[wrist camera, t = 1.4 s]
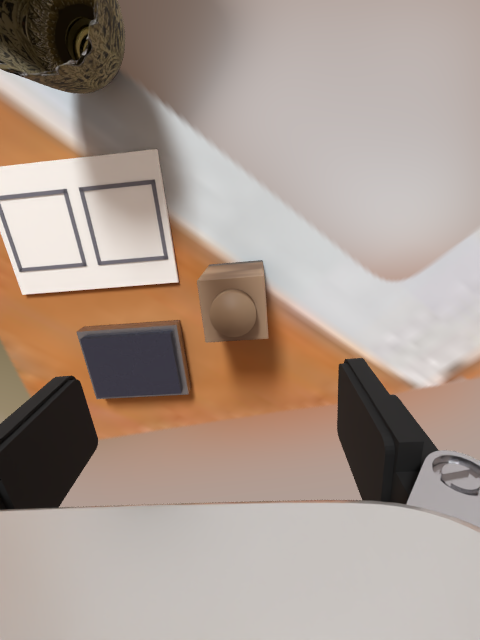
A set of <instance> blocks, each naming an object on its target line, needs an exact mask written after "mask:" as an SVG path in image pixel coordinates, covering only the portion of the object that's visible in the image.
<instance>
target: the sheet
mask: <svg viewBox="0 0 480 640" xmlns="http://www.w3.org/2000/svg"><path fill="white" fill-rule="evenodd" d="M0 232H1V235H2V238H3V241H4V243H5V246H6V249H7V252H8V255H9V258H10V261H11V263H12V266H13V269H14V272H15V275H16V278H17V281H18V284H19V286H20V289H21V292H22V295H25V294H37V293H50V292H63V291H75V290H88V289H100V288H113V287H125V286H138V285H150V284H163V283H176V282H179V278H178V272H177V266H176V260H175V253H174V247H173V241H172V235H171V229H170V223H169V217H168V210H167V204H166V198H165V192H164V186H163V180H162V174H161V168H160V161H159V155H158V150H157V149H152V150H143V151H134V152H125V153H116V154H108V155H99V156H90V157H81V158H72V159H63V160H55V161H46V162H37V163H28V164H19V165H11V166H2V167H0Z"/></svg>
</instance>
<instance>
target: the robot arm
mask: <svg viewBox="0 0 480 640" xmlns="http://www.w3.org/2000/svg"><path fill="white" fill-rule="evenodd" d="M337 429H338V436H339V439H340V442H341V444H342V447H343V450H344V452H345V455H346V458H347V460H348V463H349V466H350V468H351V471H352V474H353V476H354V479H355V482H356V484H357V487H358V490H359V492H360V495H361V497H362V501H361V500H359V501H358V500H302V501H262V502H261V501H259V502H218V503H181V504H150V505H149V504H148V505H118V506H88V507H87V506H86V507H62V508H61V507H60V508H58V507H59V506H60V504H61V503H62V501H63V500H64V498H65V496H66V495H67V493H68V492H69V490H70V489H71V487H72V486H73V484H74V483H75V481H76V479H77V478H78V476H79V475H80V473H81V472H82V470H83V469H84V467H85V466H86V464H87V462H88V461H89V459H90V458H91V456H92V455H93V453H94V452H95V450H96V448H97V445H98V437H97V434H96V431H95V428H94V425H93V421H92V418H91V415H90V412H89V408H88V405H87V402H86V399H85V395H84V392H83V389H82V386H81V383H80V381H79V380H76V378H75V377H73V376H63V377H55V378H53V379H52V380H51V381H50V382H49V383H47V384H46V385H45V386H44V387H43V388H42V389H40V390H39V391H38V392H37V393H36V394H35V395H33V396H32V397H31V398H30V399H29V400H28V401H26V402H25V403H24V404H23V405H22V406H21V407H19V408H18V409H17V410H16V411H15V412H14V413H13V414H11V415H10V416H9V417H8V418H7V419H5V420H4V421H3V422H2V423H1V424H0V640H480V461H479V460H477V459H475V458H473V457H471V456H469V455H466V454H463V453H459V452H456V451H447V450H442V451H439V450H438V449H437V448H436V446H435V445H434V444H433V442H432V441H431V440H430V438H429V437H428V436H427V435H426V433H425V432H424V431H423V429H422V428H421V427H420V425H419V424H418V423H417V422H416V420H415V419H414V418H413V416H412V415H411V414H410V412H409V411H408V410H407V409H406V407H405V406H404V405H403V404H402V402H401V401H400V399H399V398H398V397H397V396H396V395H390V394H389V393H388V392H387V390H386V389H385V388H384V386H383V385H382V384H381V382H380V381H379V379H378V378H377V377H376V375H375V374H374V373H373V371H372V370H371V369H370V367H369V366H368V364H367V363H366V362H365V360H364V359H363V358H357V359H345V361H344V363H343V364H339V379H338V421H337Z"/></svg>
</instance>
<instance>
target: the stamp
mask: <svg viewBox="0 0 480 640" xmlns="http://www.w3.org/2000/svg"><path fill="white" fill-rule="evenodd" d="M197 285H198V292H199V299H200V306H201V313H202V320H203V327H204V334H205V341H206V342H221V341H237V340H252V339H268V324H267V308H266V292H265V277H264V269H263V261H262V260H260V261H248V262H236V263H224V264H212V265H209V266H208V268H207V269H206V270H205V271H204V273H203V274H202V275H201V277H200V278H199V279H198V281H197Z"/></svg>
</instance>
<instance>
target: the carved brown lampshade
mask: <svg viewBox="0 0 480 640" xmlns="http://www.w3.org/2000/svg"><path fill="white" fill-rule="evenodd" d="M87 46H88V47H87ZM124 47H125V31H124V24H123V19H122V14H121V10H120V7H119V4H118V1H117V0H0V69H2V70H4V71H6V72H10V73H13V74H16V75H19V76H22V77H24V78H27V79H30V80H32V81H35V82H38V83H40V84H43V85H46V86H49V87H51V88H55V89H58V90H61V91H65V92H70V93H83V94H84V93H91V92H94V91H97V90H99V89H101V88H103V87H105V86H106V85H107V84H108V83H110V82H111V80H112V79H113V78H114V77H115V75H116V74H117V72H118V70H119V68H120V66H121V63H122V60H123V55H124Z"/></svg>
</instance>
